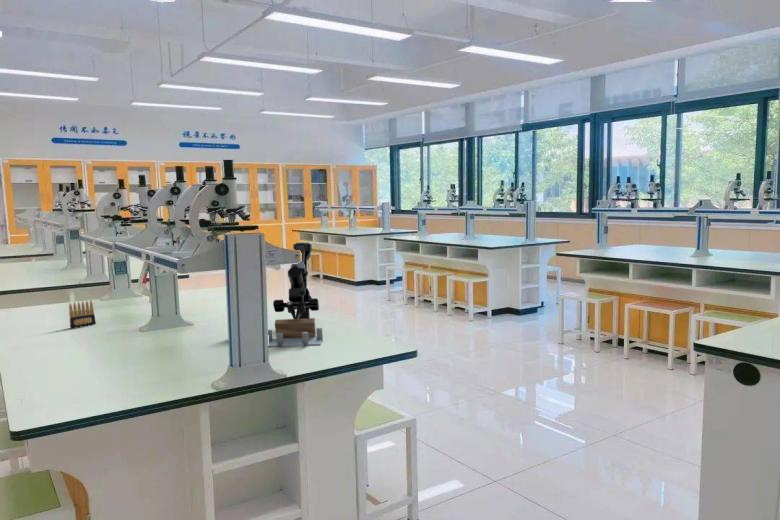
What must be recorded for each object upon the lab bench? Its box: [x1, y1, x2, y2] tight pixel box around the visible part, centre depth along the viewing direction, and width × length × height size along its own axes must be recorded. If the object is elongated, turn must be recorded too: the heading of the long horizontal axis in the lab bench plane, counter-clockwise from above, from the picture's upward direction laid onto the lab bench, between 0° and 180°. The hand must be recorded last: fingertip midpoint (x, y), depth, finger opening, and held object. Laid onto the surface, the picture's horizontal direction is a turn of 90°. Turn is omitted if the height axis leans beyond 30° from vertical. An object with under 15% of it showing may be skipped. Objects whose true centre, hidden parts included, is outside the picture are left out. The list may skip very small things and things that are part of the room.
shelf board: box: [274, 317, 317, 339], centre depth 239 cm, size 3×16×8 cm, turn 93°
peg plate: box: [267, 327, 324, 348], centre depth 234 cm, size 10×23×5 cm, turn 92°
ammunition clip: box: [68, 300, 97, 329], centre depth 273 cm, size 11×2×12 cm, turn 129°
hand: (295, 322), depth 240 cm, fingers closed
